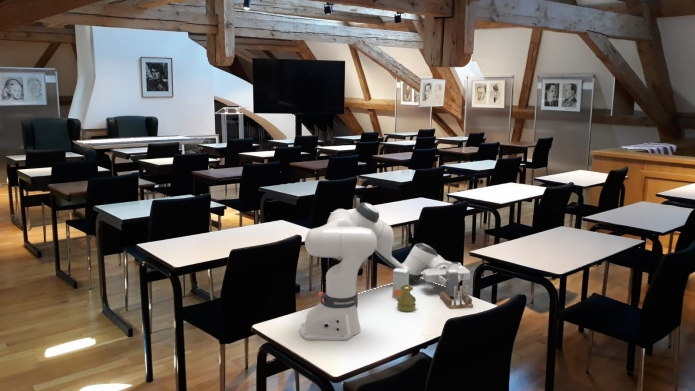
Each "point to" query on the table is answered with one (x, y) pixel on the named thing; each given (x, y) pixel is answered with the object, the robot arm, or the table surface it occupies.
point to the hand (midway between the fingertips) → (452, 281)
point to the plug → (451, 282)
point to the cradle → (448, 301)
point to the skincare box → (399, 281)
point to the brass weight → (406, 299)
